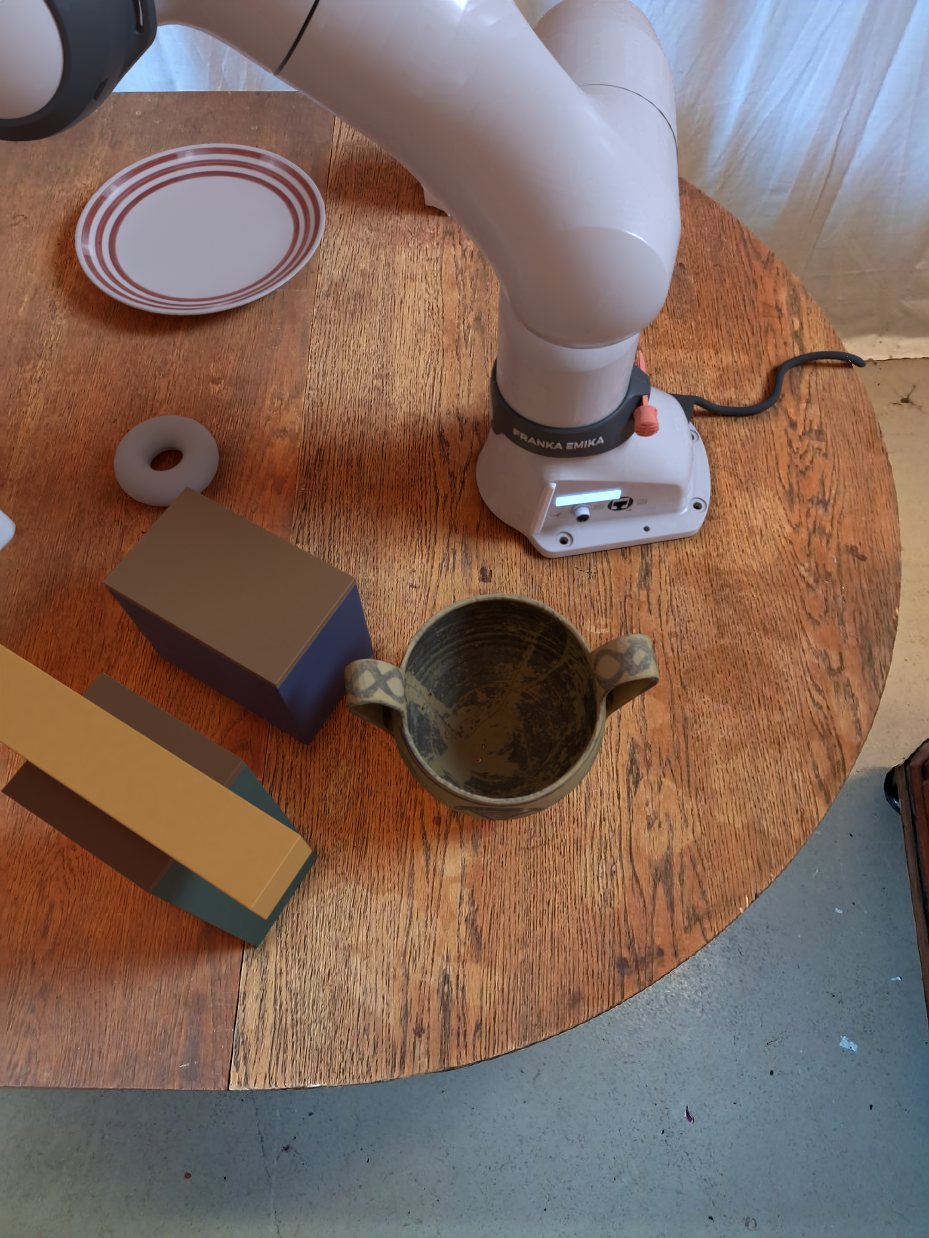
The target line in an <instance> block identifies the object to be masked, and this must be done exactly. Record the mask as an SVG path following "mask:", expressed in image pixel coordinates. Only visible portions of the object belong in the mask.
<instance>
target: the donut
mask: <svg viewBox="0 0 929 1238" xmlns="http://www.w3.org/2000/svg"><path fill="white" fill-rule="evenodd" d="M218 448H219V447H218V444H217V441H216V439H215V438H214V437H213V435H212V434H211V432H210V431H209V430H208V428H207V427H205V426H204V425H202V424H201V423H199V421H197V420H195V419H193V418H189V417H186V416H183V415H171V414H169V415H168V414H164V415H160V416H155V417H151V418H148V419H146V420H144V421H142V422H140V423H138V424H136V425H135V426H133V428H131V429H130V430H128V432H127V433H126V434H124V436H123V437H122V439H121V440H120V442H119V443H118V445H117V447H116V450H115V452H114V453H115V454H114V458H113V462H112V463H113V470H114V476H115V479H116V481H117V482H118V485H119V486H120V488H121V489H122V491H123V492H124V493H126V494H127V495H128V496H129V497H131V498H132V499H134V500H135V501H137V502H138V503H142V504H145V505H148V506H152V507H169V506H170V505H171V504H172V503H173V501H174V500H175V499H176V498H177V497H178V496H179V495H180V494H181V492H182V491H183V490H184V489H185V488H186V487H189V488H191V489H193V490H195V491H197V492H198V493H200V494H202V492H203V491H205V490H206V488H208V487H209V486H210V484H211V482H212V481H213V479H214V478H215V476H216V474H217V472H218V467H219V462H220V455H219V450H218ZM167 451H179V452H180V453H182V458H181V460H180V461H179V463H178V464H176V465H175V466H173V467H171V468H170V469H166V470H155V469H153V468H152V467H151V464H152V462H153V460H154V458H157V456H158V455H159V454H161V453H163V452H167Z"/></svg>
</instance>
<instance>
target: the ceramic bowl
mask: <svg viewBox="0 0 929 1238" xmlns="http://www.w3.org/2000/svg"><path fill="white" fill-rule="evenodd" d="M656 658H657V657H656V653H655V648H654V645H653V641H652V639H651V637H650V636H648V635H646V634H643V633H629V634H626V635H622V636H619V637H616V638H614V639H612V640H610V641H607V642H605V643H603V644H601V645H600V646H599V647H596V648H595V649H594V650H592V649H591V647H590V645H589V644H588V643H587V641H586V639H585V638H584V637H583V635H582V634H581V632H580V631H579V630H578V629H577V628H576V627H575V626H574V624H573V623H572V622H571V621H570V620H568V619H567V618H566V617H565V616H564V615H562V613H560V612H558V611H557V610H555V609H554V608H552V607H551V606H549V605H547V604H546V603H544V602H542V601H540V600H537V599H536V598H532V597H528V596H525V595H520V594H515V593H504V592H493V593H486V594H478V595H472V596H470V597H467V598H463V599H459V600H457V601H455V602H453V603H450V604H449V605H447V606H445V607H443V608H441V609H440V610H438V611H437V612H435V613H434V614H432V615H431V616H430V617H429V618H428V619H427V620H426V621H425V622H424V623H423V624H422V625H421V626H420V627H419V628H418V629H417V631H416V632H415V633H414V635H413V636H412V638H411V639H410V641H409V643H408V645H407V646H406V649H405V651H404V653H403V656H402V658H401V659H400V663H399V664H398V666H396V665H395V664H392V663H390V662H388V661H384V660H379V659H375V658H371V659H360V660H356V661H353V662H352V663H350V664H349V665H348V666H346V667H345V671H344V678H345V686H346V694H345V695H346V696H345V698H346V708H347V710H348V712H349V713H350V714H351V715H352V716H355V717H357V718H358V719H360V720H362V721H364V722H366V723H368V724H371V725H373V726H374V727H376V728H377V729H378V728H379V729H380V730H381V731H383V732H385V733H386V734H388V735H389V736H390V737H392V738H393V739H394V742H395V746H396V748H397V750H398V751H397V752H398V754H399V756H400V758H401V760H402V762H403V764H404V765H405V767H406V768H407V770H408V772H409V773H410V774H411V776H412V777H413V779H414V780H415V781H416V782H417V783H418V784H419V786H421V788H422V789H423V790H425V791H426V792H427V793H428V794H429V795H430V796H431V797H433V799H435V800H436V801H438V802H439V803H441V804H442V805H444V806H446V807H447V808H449V809H451V810H453V811H455V812H457V813H459V814H461V815H464V816H467V817H470V818H473V819H475V820H483V821H484V820H486V821H493V822H496V821H500V822H501V821H511V820H513V821H514V820H519V819H523V818H527V817H530V816H533V815H535V814H538V813H541V812H544V811H545V810H547V809H549V808H551V807H552V806H554V805H556V804H558V803H559V802H560V801H562V800H563V799H564V798H565V797H567V796H568V795H569V794H571V793H572V792H573V791H574V790H575V789H576V788H577V787H578V785H579V784H581V782H582V781H583V780H584V779H585V778H586V777H587V775H588V774H589V772H590V771H591V769H592V767H593V766H594V763H595V762H596V760H597V757H598V755H599V752H600V750H601V747H602V745H603V741H604V735H605V730H606V721H607V719H608V718H609V717H610V716H612V714H614V713H615V712H616V711H618V710H619V709H621V708H622V707H623V706H625V705H627V704H628V703H630V702H631V701H633V700H634V699H636V698H637V697H639V696H641V695H643V694H644V693H646V692H648V691H650V690H651V689H652V688H654V687H656V686H657V685H658V683H659V682H660V680H661V678H660V673H659V672H660V671H659V667H658V664H657V660H656ZM483 746H484V747H483Z"/></svg>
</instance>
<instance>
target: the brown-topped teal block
mask: <svg viewBox="0 0 929 1238" xmlns="http://www.w3.org/2000/svg"><path fill="white" fill-rule="evenodd" d="M80 695H81V696H83V697H84V698H86V699H87V700H89V701H90V702H92V703H94V704H95V705H97V706H98V707H100V708H101V709H103V710H105V711H106V712H108V713H109V714H111V715H112V716H114V717H116V718H117V719H119V720H120V721H122V722H123V723H125V724H127V725H128V726H130V727H131V728H133V729H134V730H136V731H138V732H139V733H141V734H142V735H144V736H145V737H147V738H149V739H150V740H152V741H153V742H155V743H156V744H158V745H160V746H161V747H163V748H164V749H166V750H167V751H169V752H170V753H172V754H174V755H175V756H177V757H178V758H180V759H181V760H183V761H185V762H186V763H188V764H189V765H191V766H192V767H194V768H196V769H197V770H199V771H200V772H202V773H203V774H205V775H207V776H208V777H210V778H211V779H213V780H214V781H216V782H218V783H219V784H221V785H222V786H224V787H225V788H227V789H229V790H230V791H232V792H233V793H235V794H236V795H238V796H240V797H241V798H243V799H244V800H246V801H247V802H249V803H250V804H252V805H254V806H255V807H257V808H258V809H260V810H261V811H263V812H265V813H266V814H268V815H269V816H271V817H272V818H274V819H276V820H277V821H279V822H280V823H282V824H283V825H285V826H287V827H288V828H290V829H291V830H293V831H294V832H296V833H298V834H299V835H300V836H301V837H302V838H303V840H304V841H305V842H306V843H307V845H308V846H309V847H310V848H311V850H312V852H311V854H310V855H309V857H308V858H307V860H306V861H305V863H304V864H303V866H302V867H301V869H300V870H299V872H298V873H297V875H296V876H295V878H294V879H293V881H292V882H291V884H290V885H289V887H288V888H287V890H286V891H285V892H284V894H283V895H282V897H281V898H280V900H279V901H278V903H277V904H276V906H275V907H274V909H273V910H272V912H271V913H270V915H269V916H268V918H267V919H266V920H265V919H263V918H261V917H260V916H258V915H257V914H255V913H254V912H252V911H251V910H249V909H248V908H246V907H245V906H243V905H242V904H240V903H239V902H237V901H236V900H234V899H233V898H231V897H230V896H228V895H227V894H225V893H224V892H222V891H221V890H219V889H218V888H216V887H215V886H213V885H212V884H210V883H209V882H207V881H206V880H204V879H203V878H201V877H200V876H198V875H197V874H196V873H194V872H193V871H191V870H190V869H188V868H187V867H185V866H184V865H182V864H181V863H179V862H178V861H176V860H175V859H173V858H172V857H170V856H169V855H167V854H166V853H164V852H163V851H161V850H160V849H158V848H157V847H155V846H154V845H152V844H151V843H149V842H148V841H146V840H145V839H143V838H142V837H140V836H139V835H138V834H136V833H135V832H133V831H132V830H130V829H129V828H127V827H126V826H124V825H123V824H121V823H120V822H118V821H117V820H115V819H114V818H112V817H111V816H109V815H108V814H106V813H105V812H103V811H102V810H100V809H99V808H97V807H96V806H94V805H93V804H91V803H90V802H88V801H87V800H85V799H84V798H82V797H81V796H80V795H78V794H77V793H75V792H74V791H72V790H71V789H69V788H68V787H66V786H65V785H63V784H62V783H60V782H59V781H57V780H56V779H54V778H53V777H51V776H50V775H48V774H47V773H45V772H44V771H42V770H41V769H39V768H38V767H36V766H35V765H33V764H32V763H30V762H29V761H27V760H26V761H25V762H24V763H23V764H22V765H21V766H20V768H19V769H18V770H17V771H16V772H15V774H14V775H13V776H12V777H11V778H10V780H9V781H8V782H7V783H6V784H5V785H4V787H3V788H2V789H1V790H0V792H1V793H3V795H5V796H7V797H8V798H9V799H11V800H12V801H14V802H16V803H17V804H18V805H20V806H21V807H22V808H24V809H26V810H27V811H28V812H29V813H31V814H32V815H34V816H36V817H37V818H38V819H40V820H42V821H43V822H44V823H46V824H47V825H49V826H50V827H52V828H53V829H54V830H56V831H58V832H59V833H60V834H62V835H63V836H65V837H66V838H67V839H69V840H71V841H72V842H73V843H75V844H76V845H77V846H79V847H81V848H82V849H83V850H85V851H86V852H88V853H89V854H91V855H92V856H94V857H95V858H97V859H98V860H100V861H101V862H102V863H104V864H105V865H106V866H108V867H110V869H113V870H114V871H116V872H117V873H118V874H120V875H121V876H123V877H124V878H125V879H127V880H128V881H130V882H132V883H133V884H134V885H135V886H137V887H139V889H142V890H143V891H144V892H146V893H148V894H150V895H152V896H154V897H156V898H158V899H160V900H162V901H164V902H166V903H168V904H170V905H172V906H174V907H176V908H178V909H179V910H182V911H184V912H186V913H187V914H190V915H192V916H194V917H196V918H198V919H200V920H202V921H203V922H206V923H208V924H210V925H212V926H214V927H215V928H218V929H220V930H222V931H224V932H226V933H228V934H229V935H232V936H233V937H235V938H238V939H240V940H242V941H244V942H245V943H248V944H250V945H251V946H254V947H256V948H259V947H260V945H261V944H262V943H263V941H264V939H265V938H266V936H267V935H268V933H269V932H270V930H271V929H272V927H273V926H274V924H275V923H276V921H277V920H278V918H279V917H280V915H281V914H282V912H283V910H284V909H285V908H286V906H287V905H288V903H289V902H290V900H291V899H292V897H293V896H294V894H295V893H296V891H297V889H298V888H299V886H300V885H301V884H302V882H303V881H304V880H305V877H306V876H307V875H308V873H309V872H310V870H311V868H312V867H313V865H314V864H315V863H316V861H317V859H318V858H319V856H318V854H317V853H316V852H315V851H314V850H313V849H314V848H312V847H311V846H310V844H309V843H308V842H307V840H306V839H305V838H304V837H303V835H302V834H301V832H299V830H298V828H297V827H296V826H295V825H294V824H293V822H292V821H291V820H290V819H289V817H288V816H287V815H286V813H285V812H284V810H282V808H281V807H280V806H279V805H278V803H277V802H276V800H275V799H274V798H273V797H272V795H271V794H270V793H269V791H268V790H267V789H266V788H265V786H264V785H263V784H262V783H261V781H260V780H259V778H258V777H257V776H256V775H255V773H254V772H253V771H252V769H251V768H250V767H249V766H248V765H247V763H246V762H245V760H244V759H242V758H241V757H239V756H238V755H236V754H234V753H233V752H231V751H230V750H229V749H226V748H224V747H223V746H222V745H220V744H219V743H216V742H215V741H214V740H213V739H211V738H209V737H207V736H205V735H204V734H203V733H201V732H199V731H198V730H196V729H194V728H193V727H191V726H189V725H188V724H186V723H185V722H183V721H182V720H180V719H178V718H177V717H175V716H173V715H172V714H170V713H169V712H168V711H165V710H164V709H162V708H161V707H159V706H157V705H156V704H155V703H153V702H151V701H150V700H148V699H146V698H145V697H143V696H142V695H140V694H138V693H137V692H135V691H134V690H132V689H130V688H129V687H127V686H126V685H125V684H122V683H120V681H117V680H116V679H114V678H113V677H111V676H110V675H108V674H106V673H105V672H103V671H100V673H98V675H97V676H96V678H94V680H93V681H92V682H91V683H90V685H89V686H88V687H87V688H86V689H85V690H84V691H83V693H82V694H80Z"/></svg>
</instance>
